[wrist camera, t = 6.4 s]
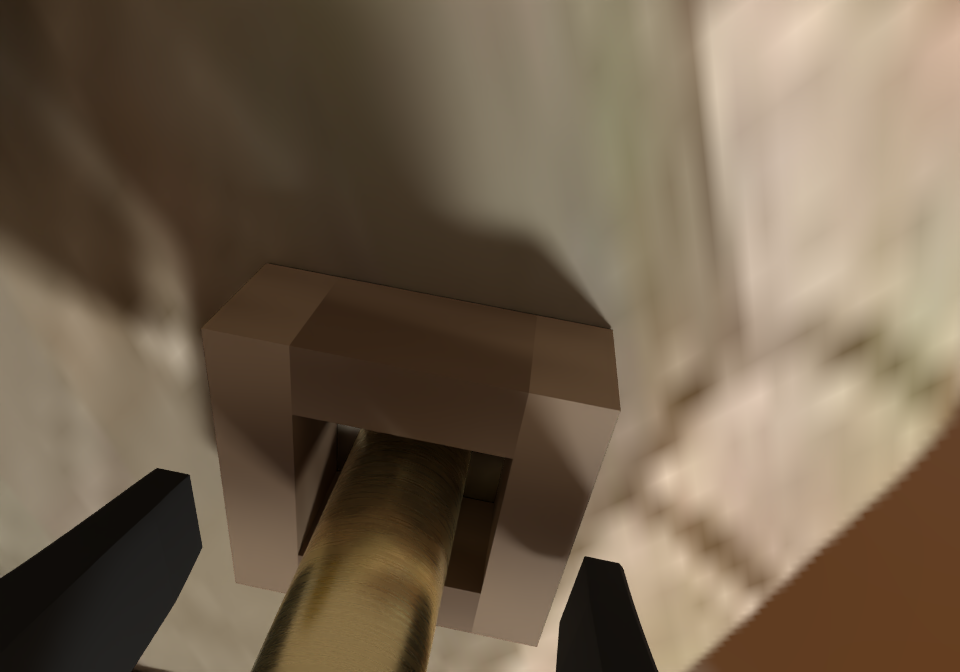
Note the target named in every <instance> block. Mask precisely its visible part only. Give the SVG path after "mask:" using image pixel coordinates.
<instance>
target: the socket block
mask: <svg viewBox="0 0 960 672" xmlns="http://www.w3.org/2000/svg"><path fill="white" fill-rule="evenodd" d="M201 332H202V339H203V347H204V354H205V361H206V369H207V376H208V383H209V391H210V398H211V405H212V413H213V420H214V427H215V435H216V442H217V449H218V457H219V464H220V471H221V479H222V486H223V493H224V501H225V508H226V515H227V523H228V530H229V537H230V545H231V552H232V560H233V567H234V574H235V582H236V583H238V584H243V585H248V586H252V587H257V588H262V589H266V590H271V591H276V592H281V593H285V594H286V593H287V590H288V588H289V586H290V584H291V582H292V579H293V577H294V575H295V573H296V571H297V568H298V566H299V564H300V562H301V559H302V557H303V555H304V553H305V551H306V548H307V546H308V544H309V542H310V540H311V537H312V535H313V533H314V531H315V529H316V526H317V524H318V522H319V520H320V517H321V515H322V513H323V511H324V509H325V506H326V504H327V502H328V500H329V498H330V495H331V493H332V491H333V489H334V487H335V484H336V482H337V480H338V478H339V475H340V473H341V472H338V471H337V424H341V425H346V426H351V427H356V428H361V429H366V430H371V431H376V432H381V433H386V434H391V435H396V436H401V437H406V438H411V439H416V440H421V441H426V442H431V443H436V444H441V445H446V446H451V447H456V448H461V449H466V450H471V451H476V452H480V453H485V454H490V455H495V456H500V457H505V458H504V463H503V467H502V472H501V476H500V480H499V485H498V489H497V493H496V498H495V502H494V503H489V502H484V501H480V500H475V499H470V498H465V497H462V502H461V507H460V512H459V516H458V521H457V526H456V531H455V536H454V541H453V545H452V550H451V555H450V560H449V565H448V570H447V574H446V579H445V584H444V589H443V594H442V599H441V603H440V608H439V613H438V618H437V623H436V626H441V627H445V628H450V629H455V630H460V631H464V632H469V633H474V634H478V635H483V636H488V637H493V638H497V639H502V640H507V641H511V642H516V643H521V644H525V645H530V646H535V647H537V645H538V642H539V639H540V637H541V634H542V631H543V628H544V625H545V623H546V620H547V617H548V614H549V611H550V609H551V606H552V603H553V600H554V597H555V594H556V592H557V589H558V586H559V583H560V580H561V578H562V575H563V572H564V569H565V566H566V563H567V561H568V558H569V555H570V552H571V549H572V547H573V544H574V541H575V538H576V535H577V533H578V530H579V527H580V524H581V521H582V518H583V516H584V513H585V510H586V507H587V504H588V502H589V499H590V496H591V493H592V490H593V487H594V485H595V482H596V479H597V476H598V473H599V471H600V468H601V465H602V462H603V459H604V456H605V454H606V451H607V448H608V445H609V442H610V440H611V437H612V434H613V431H614V428H615V426H616V423H617V420H618V417H619V414H620V411H621V409H620V399H619V389H618V379H617V369H616V359H615V349H614V339H613V330H611V329H606V328H601V327H595V326H590V325H585V324H580V323H575V322H569V321H564V320H559V319H554V318H549V317H543V316H538V315H533V314H528V313H523V312H517V311H512V310H507V309H502V308H497V307H491V306H486V305H481V304H476V303H471V302H465V301H460V300H455V299H450V298H445V297H440V296H434V295H429V294H424V293H419V292H414V291H408V290H403V289H398V288H393V287H388V286H382V285H377V284H372V283H367V282H362V281H356V280H351V279H346V278H341V277H336V276H330V275H325V274H320V273H315V272H310V271H304V270H299V269H294V268H289V267H284V266H278V265H273V264H268V263H266V264H265V265H264V266H263V267H262V268H261V269H260V270H259V271H258V272H257V273H256V274H255V275H254V276H253V277H252V278H251V279H250V280H249V281H248V282H247V283H246V284H245V285H244V286H243V287H242V288H241V289H240V290H239V291H238V292H237V293H236V294H235V295H234V296H233V297H232V298H231V299H230V300H229V301H228V302H227V303H226V304H225V305H224V306H223V307H222V308H221V309H220V310H219V311H218V312H217V313H216V314H215V315H214V316H213V317H212V318H211V319H210V320H209V321H208V322H207V323H206V324H205V325H204V326H203V327H202V328H201Z"/></svg>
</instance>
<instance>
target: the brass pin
mask: <svg viewBox="0 0 960 672" xmlns="http://www.w3.org/2000/svg"><path fill="white" fill-rule="evenodd" d="M471 454H472V451H471V450H466V449H461V448H456V447H451V446H446V445H441V444H436V443H431V442H426V441H421V440H416V439H411V438H406V437H401V436H396V435H391V434H386V433H381V432H376V431H371V430H366V429H360V431H359V434H358V436H357V438H356V440H355V442H354V445H353V447H352V449H351V451H350V453H349V456H348V458H347V460H346V462H345V464H344V467H343V469H342V471H341V473H340V475H339V478H338V480H337V482H336V484H335V487H334V489H333V491H332V493H331V495H330V498H329V500H328V502H327V504H326V506H325V509H324V511H323V513H322V515H321V517H320V520H319V522H318V524H317V526H316V529H315V531H314V533H313V535H312V537H311V540H310V542H309V544H308V546H307V548H306V551H305V553H304V555H303V557H302V559H301V562H300V564H299V566H298V568H297V571H296V573H295V575H294V577H293V579H292V582H291V584H290V586H289V588H288V590H287V593H286V595H285V597H284V599H283V601H282V604H281V606H280V608H279V610H278V612H277V615H276V617H275V619H274V621H273V624H272V626H271V628H270V630H269V632H268V635H267V637H266V639H265V641H264V643H263V646H262V648H261V650H260V652H259V654H258V657H257V659H256V661H255V663H254V666H253V668H252V670H251V672H426V671H427V666H428V661H429V657H430V652H431V647H432V642H433V637H434V632H435V628H436V623H437V618H438V613H439V608H440V603H441V599H442V594H443V589H444V584H445V579H446V574H447V570H448V565H449V560H450V555H451V550H452V545H453V541H454V536H455V531H456V526H457V521H458V516H459V512H460V507H461V502H462V497H463V492H464V487H465V483H466V478H467V473H468V468H469V463H470V458H471Z"/></svg>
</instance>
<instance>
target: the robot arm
mask: <svg viewBox="0 0 960 672" xmlns="http://www.w3.org/2000/svg"><path fill="white" fill-rule="evenodd" d="M201 549H202V542H201V536H200V531H199V525H198V519H197V514H196V508H195V502H194V497H193V491H192V486H191V480H190V475H188V474H184V473H179V472H174V471H169V470H164V469H159V468H157V469H155V470H153V471H152V472H150V473H149V474H148V475H146V476H145V477H143V478H142V479H141V480H139V481H138V482H136V483H135V484H134V485H132V486H131V487H130V488H128V489H127V490H125V491H124V492H123V493H121V494H120V495H119V496H117V497H116V498H114V499H113V500H112V501H110V502H109V503H108V504H106V505H105V506H103V507H102V508H101V509H99V510H98V511H97V512H95V513H94V514H92V515H91V516H90V517H88V518H87V519H85V520H84V521H83V522H81V523H80V524H79V525H77V526H76V527H74V528H73V529H72V530H70V531H69V532H67V533H66V534H64V535H63V536H62V537H60V538H59V539H57V540H56V541H54V542H53V543H51V544H50V545H49V546H47V547H46V548H44V549H43V550H41V551H40V552H39V553H37V554H36V555H34V556H33V557H31V558H30V559H29V560H27V561H26V562H24V563H23V564H21V565H20V566H18V567H17V568H15V569H14V570H12V571H11V572H9V573H8V574H6V575H5V576H3V577H2V578H0V672H131V671H132V670H133V668H134V666H135V665H136V663H137V662H138V660H139V659H140V657H141V656H142V654H143V653H144V651H145V649H146V648H147V646H148V645H149V643H150V642H151V640H152V638H153V637H154V635H155V634H156V632H157V631H158V629H159V627H160V626H161V624H162V623H163V621H164V620H165V618H166V616H167V615H168V613H169V612H170V610H171V608H172V607H173V605H174V604H175V602H176V600H177V598H178V596H179V594H180V592H181V590H182V588H183V586H184V584H185V582H186V580H187V578H188V576H189V574H190V572H191V570H192V568H193V566H194V564H195V562H196V560H197V557H198V555H199V553H200V551H201ZM556 672H658V670H657V667H656V665H655V662H654V659H653V657H652V654H651V652H650V649H649V646H648V643H647V640H646V638H645V635H644V632H643V629H642V626H641V624H640V621H639V618H638V615H637V612H636V609H635V606H634V603H633V600H632V596H631V593H630V590H629V587H628V583H627V580H626V577H625V573H624V569H623V568H622V566H621V565H620V564H619V563H615V562H610V561H605V560H600V559H596V558H591V557H586V556H585V557H584V559H583V562H582V565H581V567H580V570H579V573H578V575H577V578H576V581H575V583H574V586H573V588H572V591H571V594H570V596H569V599H568V602H567V604H566V607H565V610H564V612H563V615H562V618H561V620H560V625H559V637H558V650H557V664H556Z"/></svg>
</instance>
